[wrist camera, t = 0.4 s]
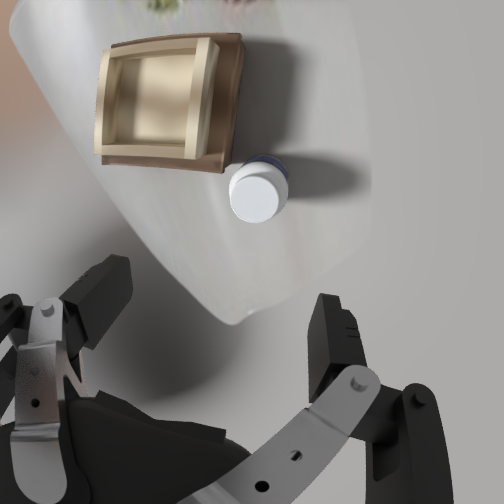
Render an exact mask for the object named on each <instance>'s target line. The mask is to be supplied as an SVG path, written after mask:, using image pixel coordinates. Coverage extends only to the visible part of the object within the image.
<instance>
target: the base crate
mask: <svg viewBox="0 0 504 504" xmlns="http://www.w3.org/2000/svg"><path fill="white" fill-rule="evenodd" d="M208 37H210V38H211V39H212V40H213V41H214V42H215V43H216V44H217V45H218V46H219V47H220V50H219V56H218V63H217V70H216V77H215V85H214V92H213V100H212V109H211V118H210V127H209V137H208V147H207V155H205V156H203V157H200V158H198V159H195V160H194V159H182V158H168V157H151V156H125V155H102V165H126V166H144V167H159V168H172V169H183V170H194V171H203V172H212V173H221V174H222V173H224V172H225V168H226V167H227V166H229V165H230V164H231V157H232V148H233V140H234V131H235V123H236V115H237V107H238V99H239V91H240V84H241V77H242V69H243V62H244V56H245V49H246V48H245V46H244V44H243V43H242V41H241V38H242V36H241V34H240V33H194V34H179V35H168V36H159V37H152V38H145V39H139V40H133V41H127V42H122V43H117V44H113V45H112V46H111V49H113V48H117V47H122V46H128V45H133V44H140V43H146V42H154V41H162V40H172V39H185V38H208Z"/></svg>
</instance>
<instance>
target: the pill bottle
mask: <svg viewBox="0 0 504 504" xmlns="http://www.w3.org/2000/svg"><path fill="white" fill-rule="evenodd" d="M229 196H230V203H231V207H232V209H233V211H234V212H235V214H236V215H237V216H238V217H239V218H241V219H242V220H244V221H246V222H249V223H262V222H265V221H267V220H269V219H270V218H271V217H273V216H275V215H277V214H278V213H279V212H280V211H281V210H282V209H283V207H284V206H285V204H286V202H287V198H288V172H287V169H286V167H285V166H284V164H283V163H282V162H281V161H280V160H279V159H278V158H276V157H274V156H271V155H257V156H255V157H252V158H251V159H249V160H248V161H247V162H246V163H245V164H244V165H243V166H242V167H241V168H239V169H238V170H237V171H236V173H235V174H234V175H233V177H232V179H231V181H230V185H229Z"/></svg>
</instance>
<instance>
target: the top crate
mask: <svg viewBox="0 0 504 504" xmlns="http://www.w3.org/2000/svg"><path fill="white" fill-rule="evenodd" d="M219 50H220V47H219V46H218V45H217V44H216V43H215V42H214V41H213V40H212V39H211V38H210V37H208V38H185V39H172V40H162V41H154V42H146V43H140V44H133V45H128V46H122V47H117V48H113V49H108V50H104V51H103V53H102V59H101V66H100V73H99V81H98V89H97V100H96V113H95V133H94V155H125V156H151V157H168V158H182V159H194V160H195V159H198V158H200V157H203V156H205V155H207V147H208V137H209V127H210V118H211V109H212V100H213V92H214V85H215V77H216V70H217V63H218V56H219Z"/></svg>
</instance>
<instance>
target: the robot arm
mask: <svg viewBox="0 0 504 504" xmlns="http://www.w3.org/2000/svg"><path fill="white" fill-rule="evenodd" d="M132 293H133V284H132V277H131V269H130V261H129V259H128V258H127V257H124V256H119V255H114V254H111V255H110V256H109V257H108V258H106V259H105V260H104V261H103V262H102V263H99V264H97V265H95V266H93V267H91V268H90V269H89V270H88V271H87V272H85V273H84V276H81V277H80V278H79V279H78V281H76V282H75V283H74V284H73V285H72V286H71V287H69V289H67V290H66V291H65V292H64V294H62V295H61V296H60V297H59V298H54V297H49V298H45V299H42V300H40V301H39V302H38V303H36V304H35V306H24V305H23V303H22V301H21V298H20V297H19V295H17V294H8V295H5V296H3V297H2V298H1V299H0V343H1V342H2V341H3V339H4V338H5V337H6V336H7V335H8V337H9V339H10V340H11V342H12V344H13V345H12V347H11V348H10V349H9V351H8V352H7V353H6V355H5V356H4V357H3V359H2V360H1V362H0V420H1V418H2V416H3V414H4V413H5V411H6V409H7V407H8V406H9V404H10V402H11V401H12V399H13V397H14V396H15V421H14V422H11V423H8V424H5V425H1V424H0V504H291V503H292V502H293V501H294V500H295V499H296V498H297V497H298V496H299V495H300V494H301V493H302V492H303V491H304V490H305V489H306V488H307V487H308V486H309V485H310V484H311V483H312V481H314V479H315V478H316V477H317V476H318V475H319V474H320V473H321V472H322V471H323V470H324V468H325V467H326V466H327V465H328V464H329V463H330V461H331V460H332V459H333V458H334V457H335V456H336V454H337V453H338V452H339V451H340V449H341V448H342V447H343V445H344V444H345V443H346V441H347V440H348V438H349V437H353V438H356V439H359V440H363V441H365V442H366V501H365V504H454V500H453V489H452V480H451V471H450V464H449V458H448V452H447V446H446V441H445V436H444V431H443V427H442V422H441V418H440V414H439V410H438V406H437V402H436V398H435V396H434V394H433V392H432V391H431V390H430V389H429V388H427V387H426V386H424V385H422V384H418V383H413V384H410V385H408V386H406V387H405V389H404V390H403V391H400V390H397V389H393V388H390V387H387V386H384V385H382V384H380V380H379V378H378V376H377V375H376V374H375V373H374V372H373V371H372V370H371V369H369V368H368V367H367V363H366V359H365V354H364V350H363V346H362V341H361V339H360V333H359V331H358V325H357V321H356V319H355V317H354V316H353V315H352V313H351V312H350V311H349V310H344V309H342V308H341V303H340V299H339V296H336V295H330V294H323V293H320V294H319V296H318V299H317V302H316V305H315V308H314V311H313V314H312V317H311V320H310V323H309V328H308V336H307V338H308V369H309V370H308V373H309V403H313V404H312V405H311V406H310V407H309V408H304V409H303V410H302V411H300V412H299V413H298V414H297V415H296V416H295V417H294V418H293V419H292V420H291V421H290V422H289V423H288V424H287V425H286V426H284V427H283V428H282V429H281V430H280V431H279V432H278V433H277V434H275V435H274V436H273V437H272V438H271V439H270V440H269V441H267V442H266V443H265V444H264V445H263V446H262V447H260V448H259V449H258V450H257V451H255V452H254V453H253V454H251V453H249V451H247V450H246V449H245V448H243V447H242V446H240V445H238V444H237V443H235V442H233V441H232V440H229V439H227V438H225V436H226V430H225V429H220V428H215V427H211V426H206V425H202V424H198V423H194V422H182V421H165V420H156V419H153V418H151V417H150V416H148V415H147V414H145V413H143V412H141V411H140V410H139V409H137V408H136V407H134V406H133V405H131V404H130V403H128V402H127V401H125V400H122V399H119V398H117V397H115V396H112V395H110V394H107V393H105V392H103V391H100V390H99V392H98V393H97V395H96V397H88V394H87V390H86V385H85V377H84V369H83V360H82V353H81V351H80V350H81V348H82V347H83V346H84V347H87V348H89V349H92V350H93V349H94V348H95V347H96V345H97V344H98V342H99V341H100V340H101V338H102V337H103V335H104V334H105V333H106V331H107V330H108V329H109V327H110V326H111V325H112V323H113V322H114V321H115V319H116V318H117V316H118V315H119V314H120V313H121V311H122V310H123V309H124V307H125V306H126V305H127V303H128V302H129V301H130V299H131V296H132Z"/></svg>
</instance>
